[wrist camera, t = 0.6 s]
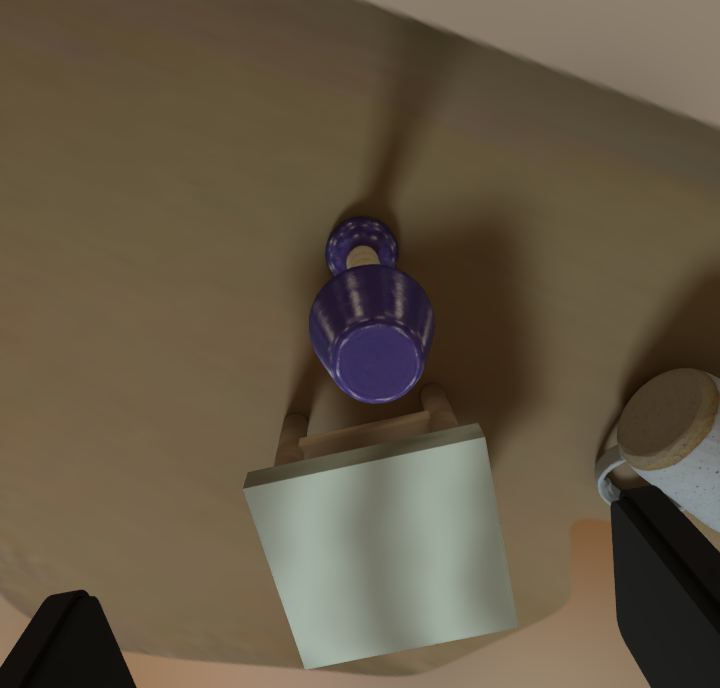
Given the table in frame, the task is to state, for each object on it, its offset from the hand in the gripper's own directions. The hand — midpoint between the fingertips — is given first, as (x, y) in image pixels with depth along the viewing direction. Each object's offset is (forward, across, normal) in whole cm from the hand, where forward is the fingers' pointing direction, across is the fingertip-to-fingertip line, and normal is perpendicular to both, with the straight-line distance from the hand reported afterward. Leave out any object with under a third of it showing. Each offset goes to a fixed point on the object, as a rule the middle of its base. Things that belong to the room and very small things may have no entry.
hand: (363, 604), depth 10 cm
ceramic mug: (+25, -18, +14) cm, 34 cm away
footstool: (+25, 0, +13) cm, 28 cm away
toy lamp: (+25, -1, -1) cm, 25 cm away
